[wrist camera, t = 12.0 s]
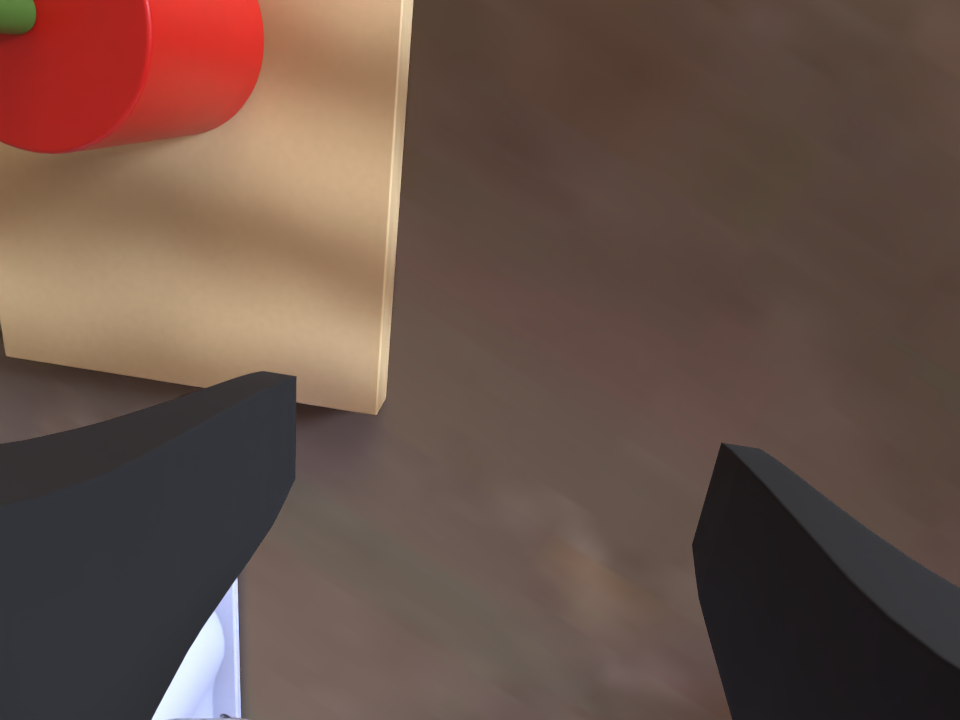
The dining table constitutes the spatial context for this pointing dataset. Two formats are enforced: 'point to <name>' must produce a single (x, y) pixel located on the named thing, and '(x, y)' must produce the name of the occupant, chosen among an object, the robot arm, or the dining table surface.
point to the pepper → (123, 70)
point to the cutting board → (229, 225)
